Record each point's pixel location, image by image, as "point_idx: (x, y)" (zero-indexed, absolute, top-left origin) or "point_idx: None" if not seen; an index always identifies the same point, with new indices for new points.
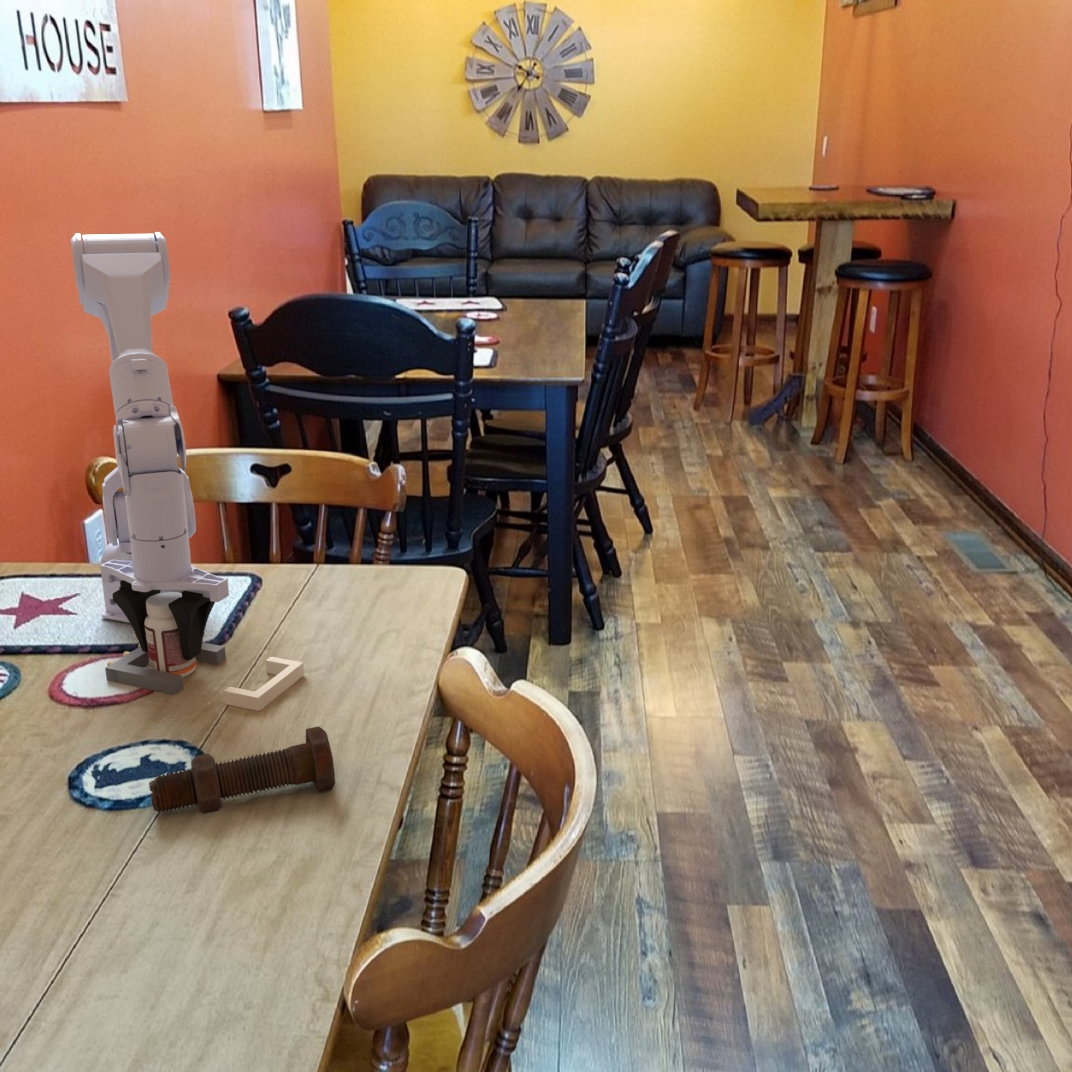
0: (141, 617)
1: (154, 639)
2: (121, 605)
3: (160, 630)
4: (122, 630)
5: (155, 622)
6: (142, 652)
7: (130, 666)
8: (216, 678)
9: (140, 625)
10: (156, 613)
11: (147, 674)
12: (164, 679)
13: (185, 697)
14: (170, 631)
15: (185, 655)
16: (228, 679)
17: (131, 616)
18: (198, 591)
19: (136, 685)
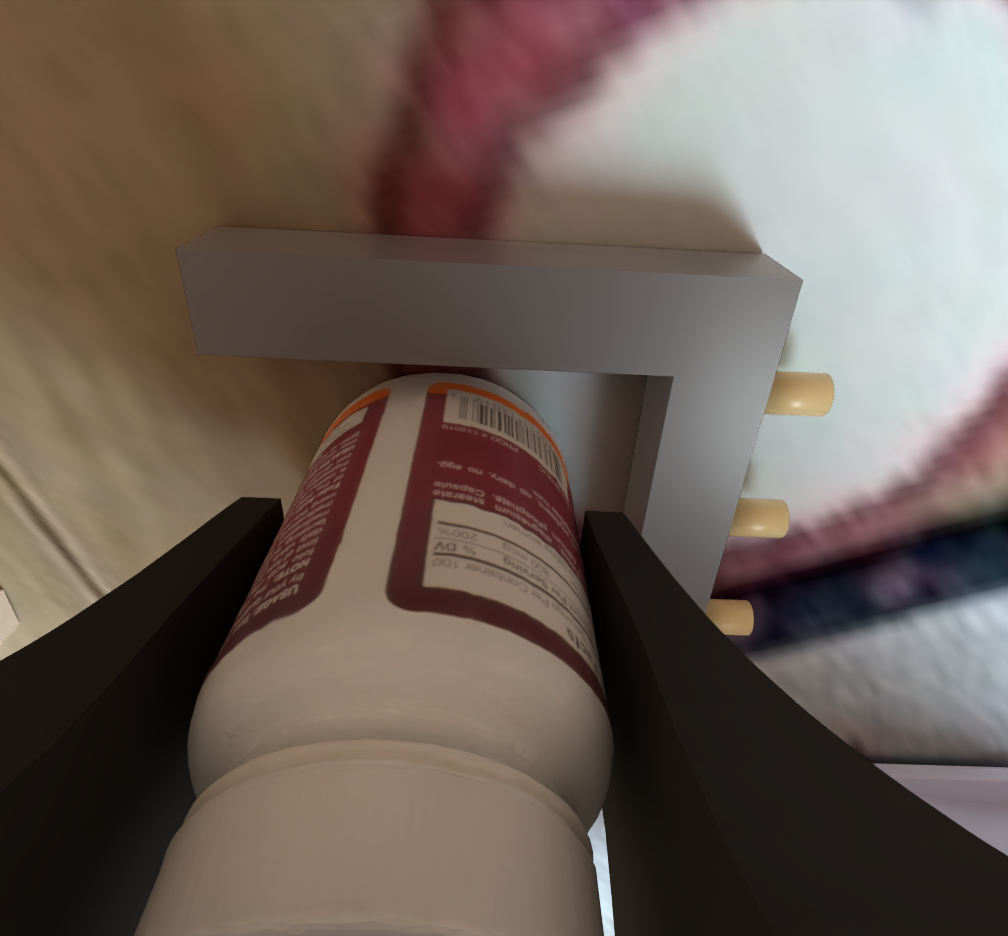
0: (646, 738)
1: (416, 532)
2: (913, 843)
3: (322, 611)
4: (924, 715)
5: (387, 688)
6: (658, 534)
7: (625, 355)
8: (172, 479)
9: (636, 656)
10: (336, 802)
11: (433, 289)
12: (260, 260)
13: (129, 221)
14: (246, 630)
15: (241, 511)
16: (107, 488)
17: (735, 719)
18: None
19: (522, 243)
